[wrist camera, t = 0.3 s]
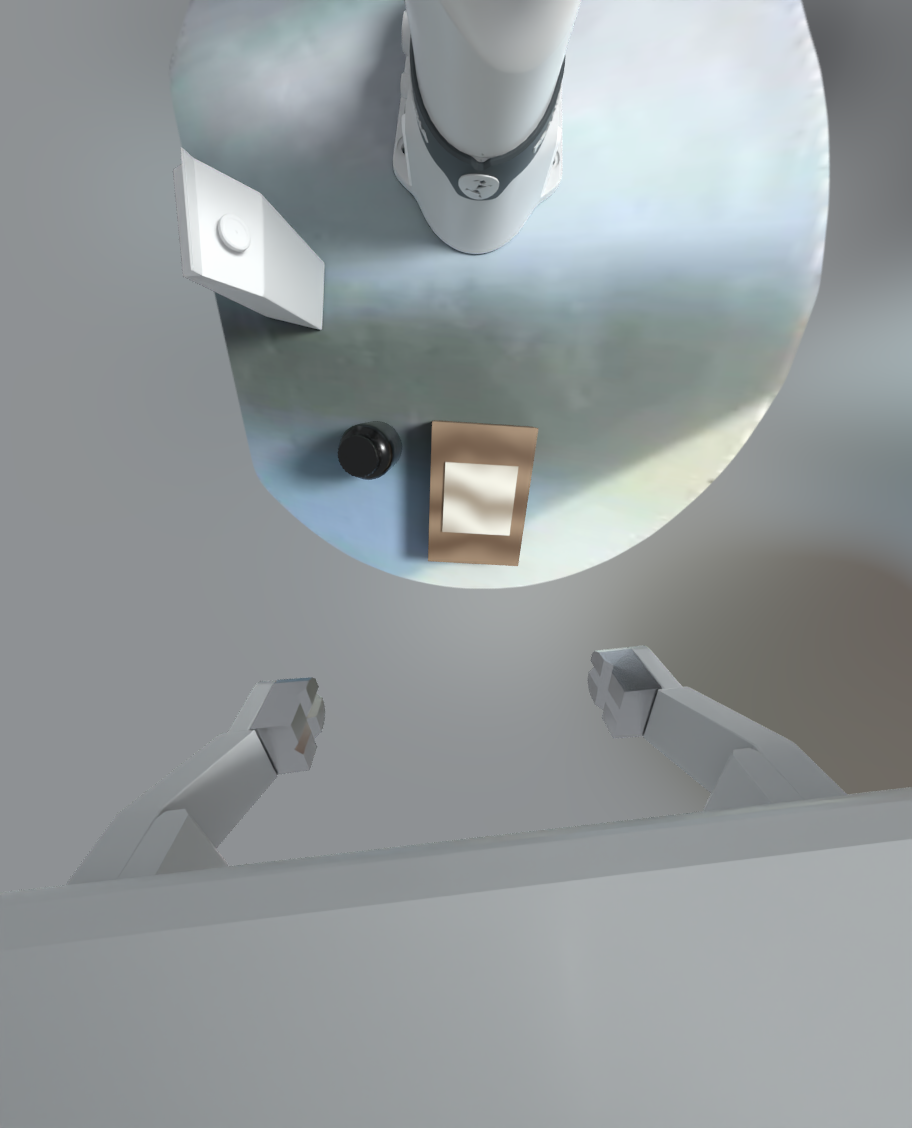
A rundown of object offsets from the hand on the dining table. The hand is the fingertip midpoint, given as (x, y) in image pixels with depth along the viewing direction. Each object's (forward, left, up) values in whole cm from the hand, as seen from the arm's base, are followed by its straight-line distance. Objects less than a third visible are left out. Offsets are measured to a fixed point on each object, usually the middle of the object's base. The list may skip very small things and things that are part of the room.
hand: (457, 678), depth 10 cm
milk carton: (-20, -22, -46) cm, 54 cm away
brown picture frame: (+4, +3, -46) cm, 46 cm away
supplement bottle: (-2, -12, -46) cm, 47 cm away
